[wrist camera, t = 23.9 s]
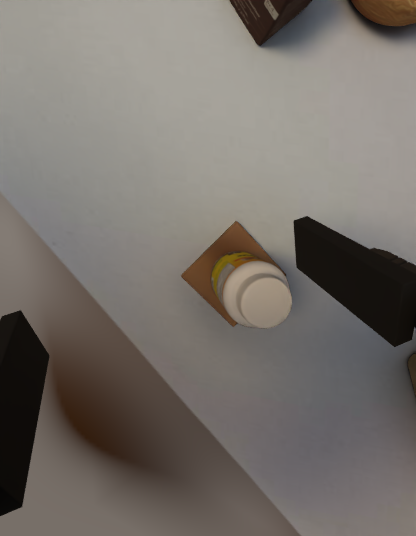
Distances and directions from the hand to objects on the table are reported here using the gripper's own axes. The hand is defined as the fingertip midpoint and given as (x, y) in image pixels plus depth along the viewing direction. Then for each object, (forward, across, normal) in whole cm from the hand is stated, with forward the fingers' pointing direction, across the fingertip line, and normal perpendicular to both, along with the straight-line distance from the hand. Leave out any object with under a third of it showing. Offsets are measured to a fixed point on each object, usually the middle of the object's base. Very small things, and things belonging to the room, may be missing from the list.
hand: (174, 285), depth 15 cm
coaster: (+15, -7, +10) cm, 19 cm away
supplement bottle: (+14, -7, +10) cm, 19 cm away
